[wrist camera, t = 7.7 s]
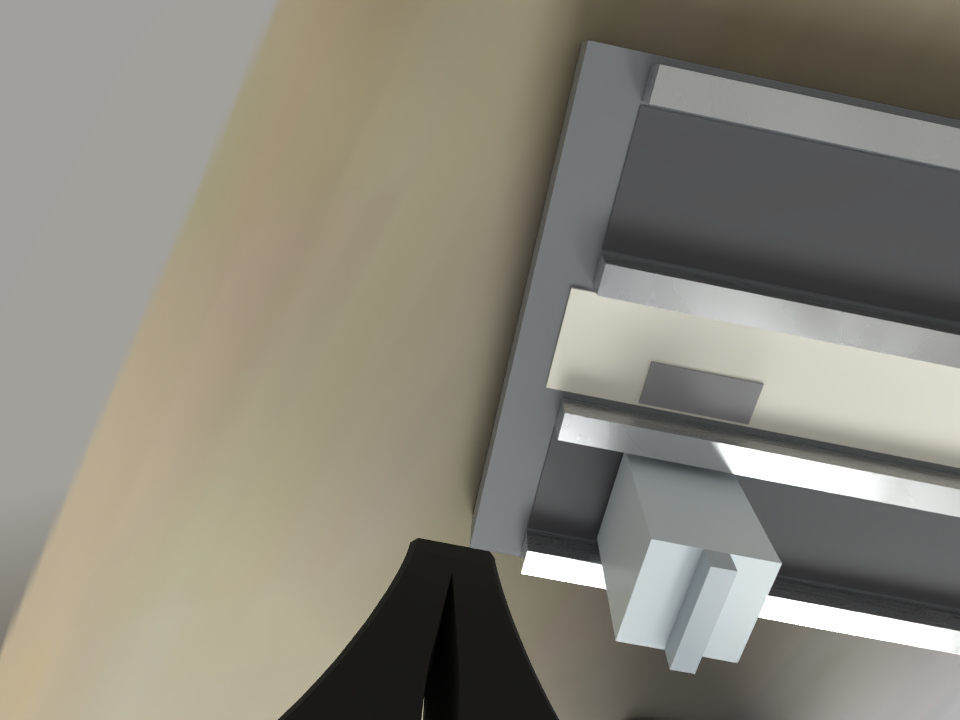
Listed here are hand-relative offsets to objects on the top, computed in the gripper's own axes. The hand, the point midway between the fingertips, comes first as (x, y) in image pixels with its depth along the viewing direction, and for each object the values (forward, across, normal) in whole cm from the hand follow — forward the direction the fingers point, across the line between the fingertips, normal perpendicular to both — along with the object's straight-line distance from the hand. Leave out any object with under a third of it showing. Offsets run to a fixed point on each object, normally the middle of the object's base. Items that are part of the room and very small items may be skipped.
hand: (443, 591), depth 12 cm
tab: (+8, -6, +2) cm, 10 cm away
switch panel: (+9, -12, -2) cm, 15 cm away
